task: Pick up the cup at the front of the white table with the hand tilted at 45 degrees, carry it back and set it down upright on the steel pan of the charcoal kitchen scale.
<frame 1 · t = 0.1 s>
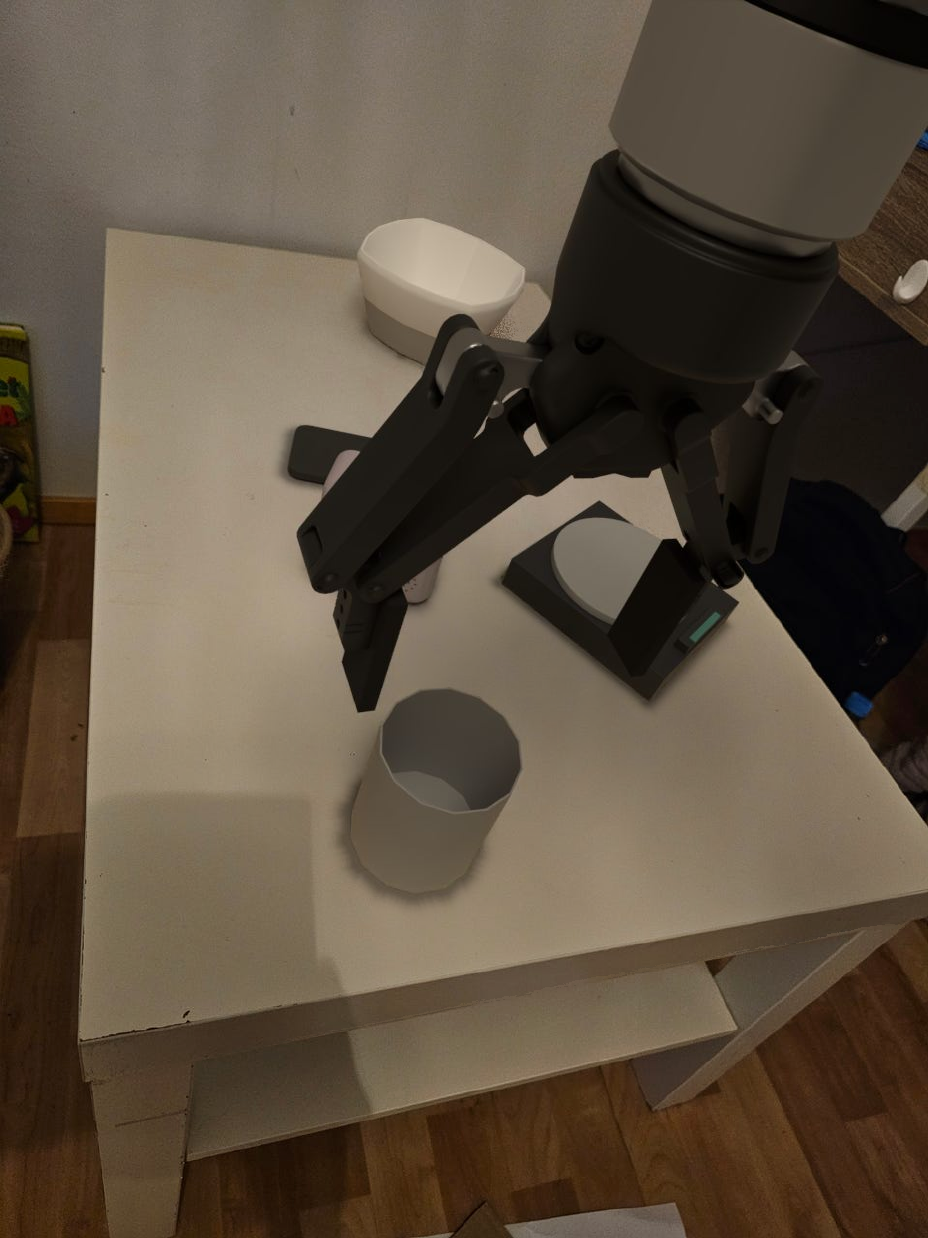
hand: (501, 669, 38), 20 cm above the table, tool pointing down, fingers open, 13 cm apart
bowl: (426, 338, 97), on the table
cup: (413, 832, 54), on the table
electronic device: (371, 578, 68), on the table
scale: (615, 603, 74), on the table
phone: (371, 469, 78), on the table
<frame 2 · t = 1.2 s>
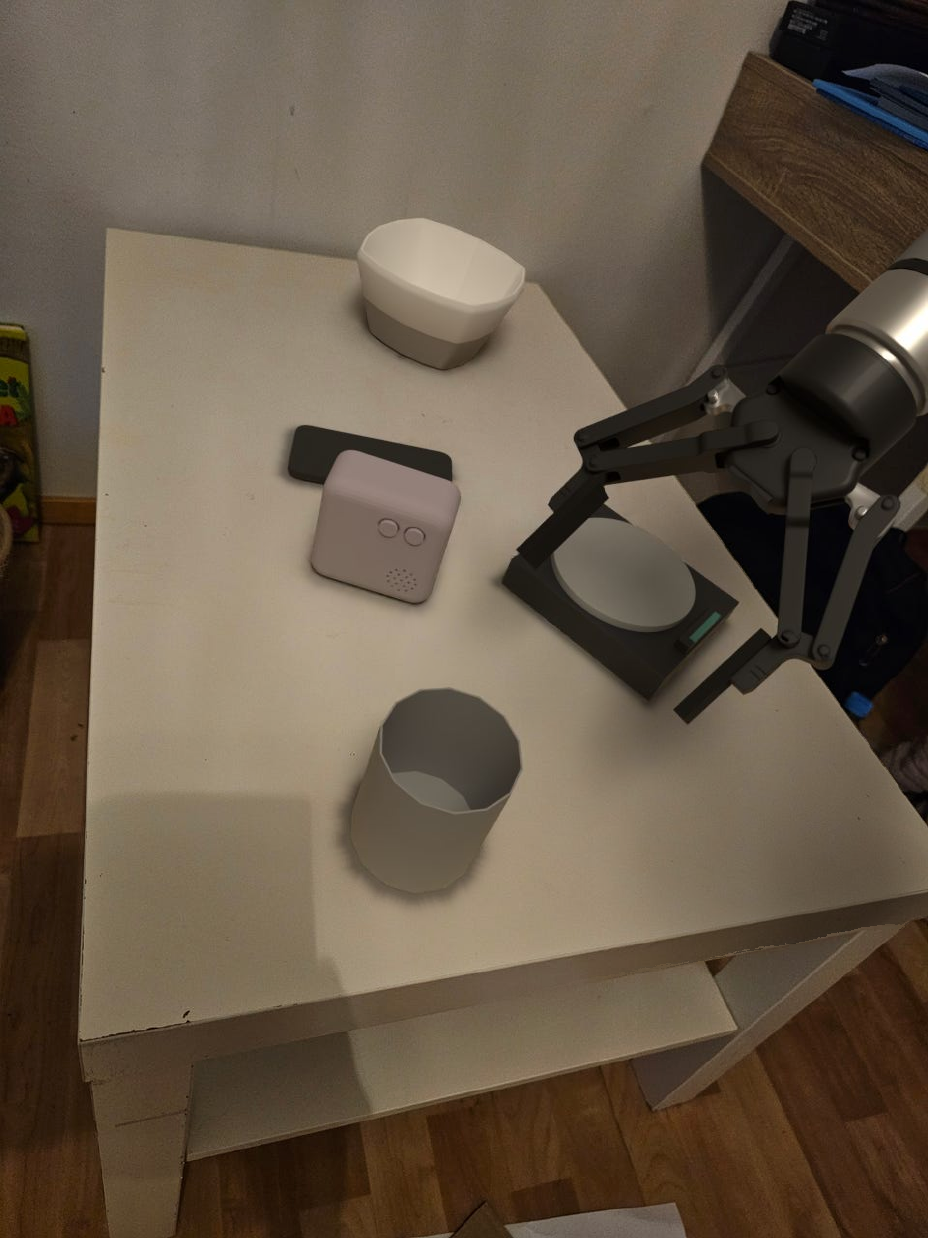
hand: (598, 635, 50), 14 cm above the table, tool tilted 45°, fingers open, 13 cm apart
nothing on the table moved.
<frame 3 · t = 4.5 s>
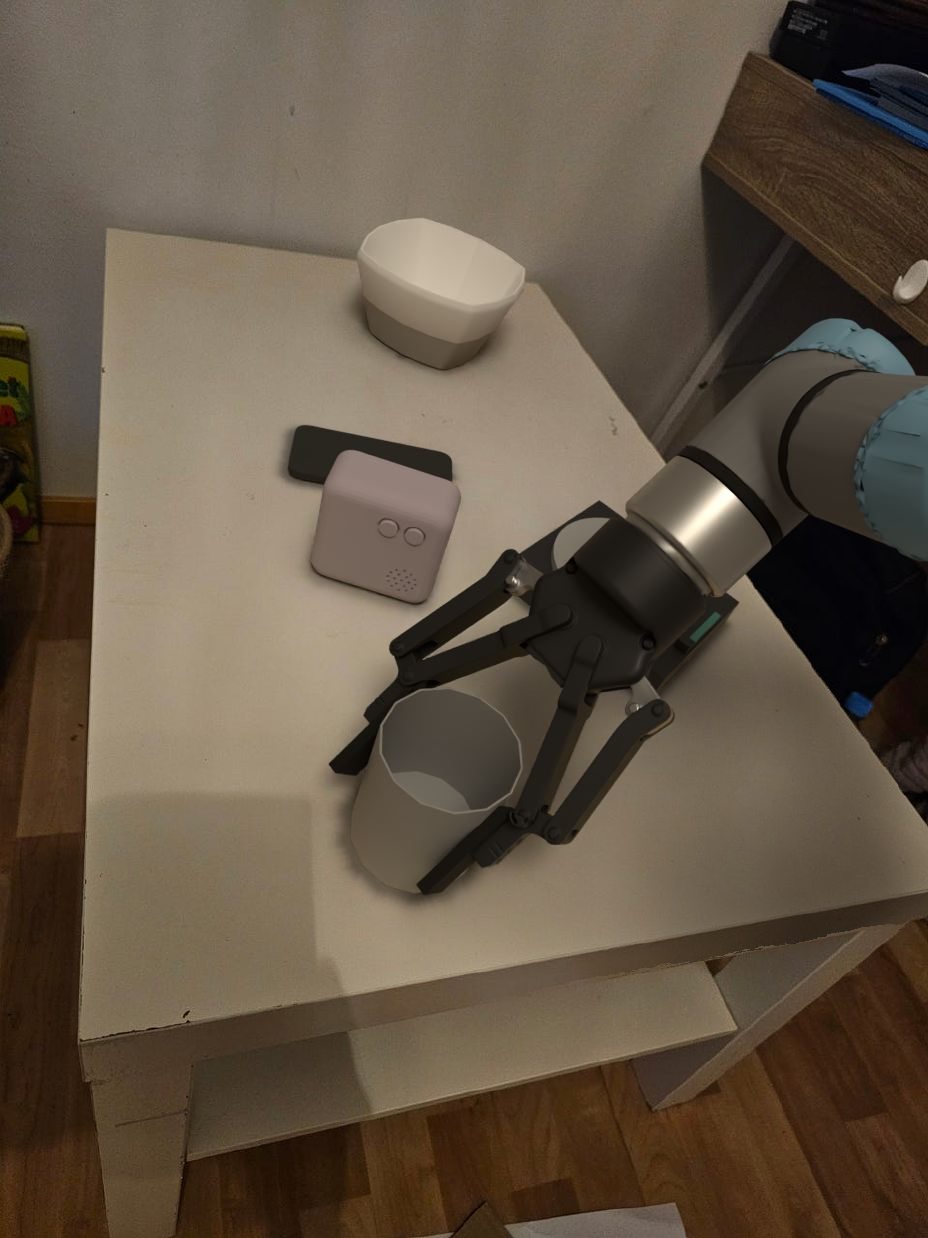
hand: (384, 827, 49), 4 cm above the table, tool tilted 45°, fingers closed on cup, 8 cm apart
cup: (413, 832, 54), on the table, touching gripper
everything else where it was.
when the fingers open (8 cm above the table, at t = 14.2 s): cup stays where it is, resting on scale.
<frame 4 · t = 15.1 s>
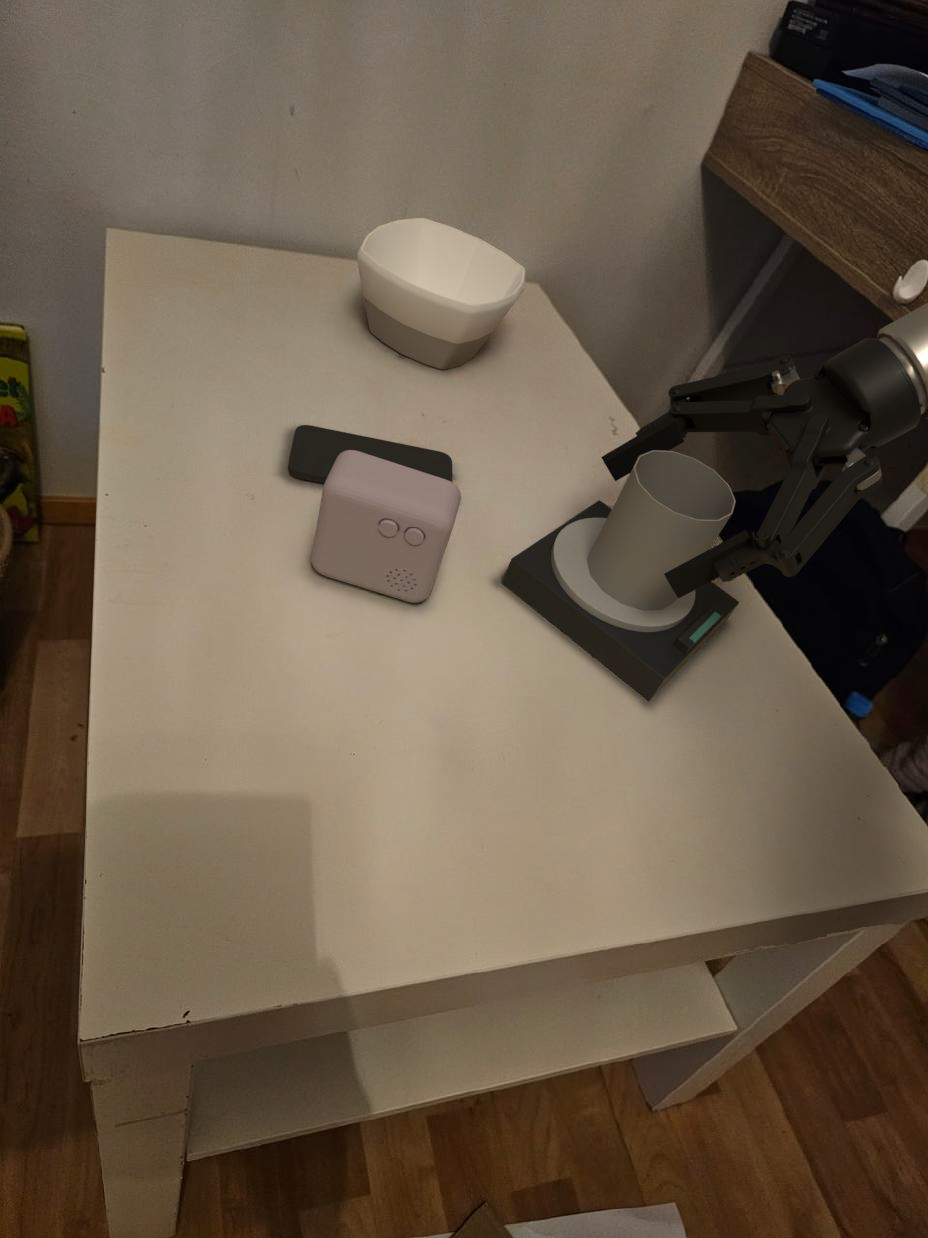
hand: (637, 524, 66), 10 cm above the table, tool tilted 45°, fingers open, 13 cm apart
cup: (632, 575, 71), point 4 cm above the table, touching scale
everything else where it was.
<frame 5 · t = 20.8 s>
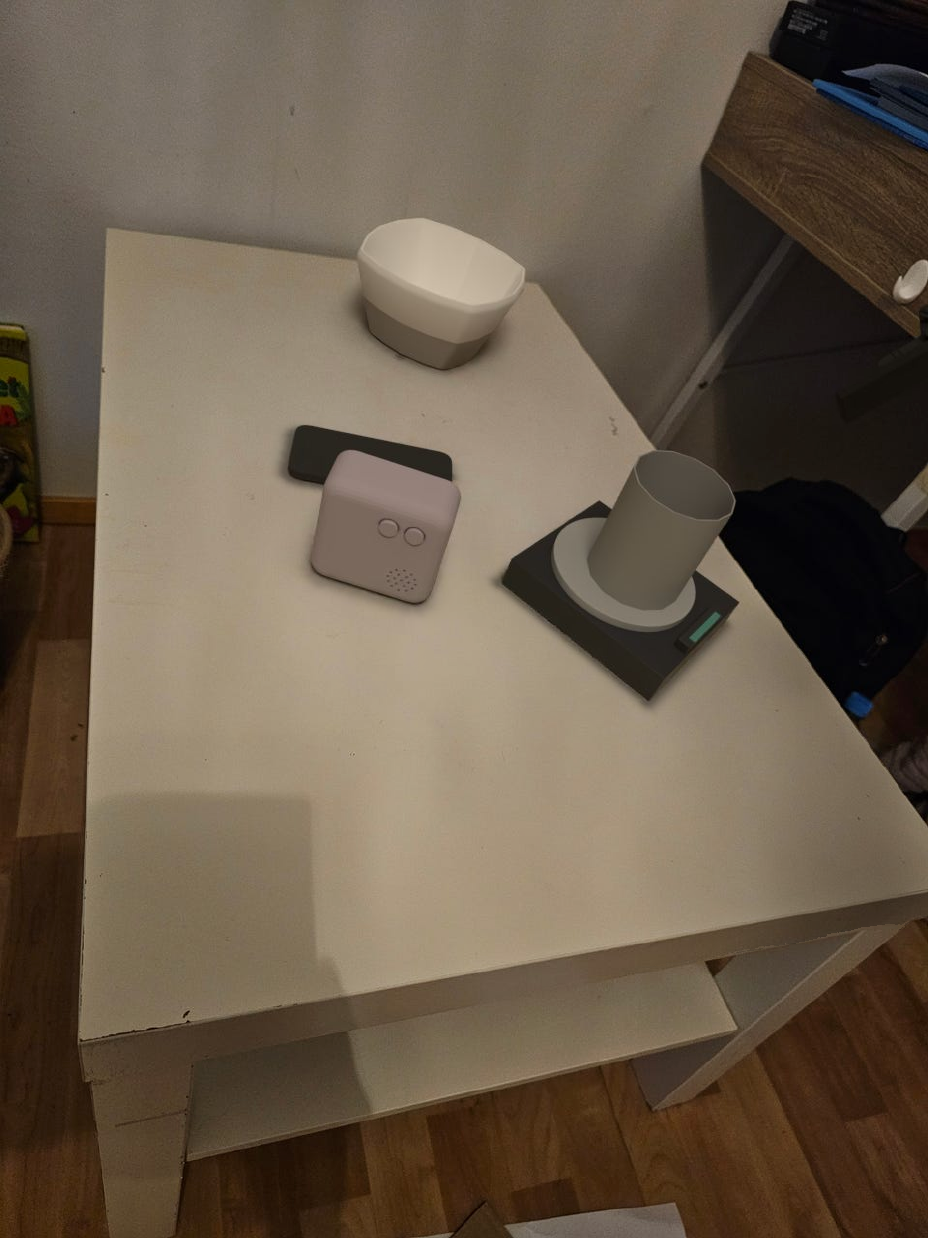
hand: (894, 472, 53), 24 cm above the table, tool tilted 45°, fingers open, 13 cm apart
nothing on the table moved.
at the end: cup inside the target area on the scale (0.5 cm from its centre), point 3.6 cm above the scale's base; cup tilted 0°; the gripper is holding nothing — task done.
